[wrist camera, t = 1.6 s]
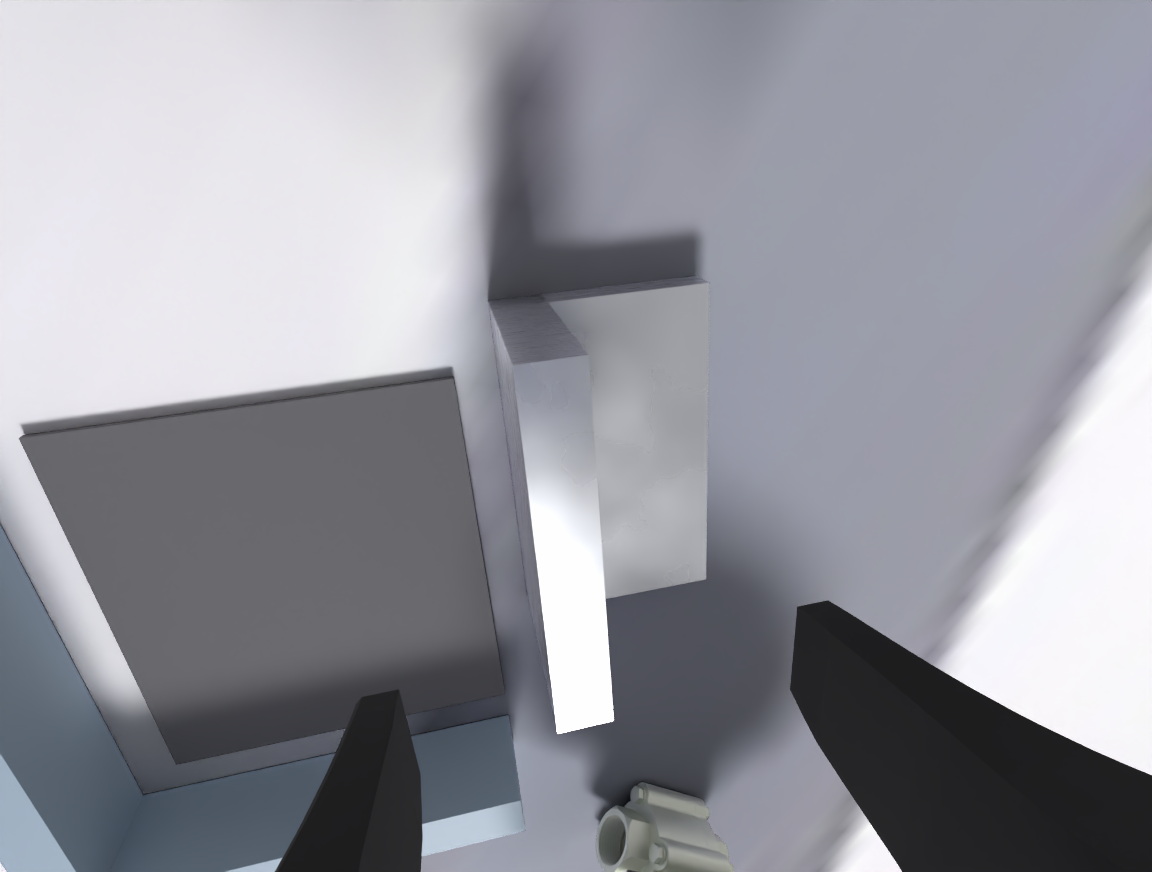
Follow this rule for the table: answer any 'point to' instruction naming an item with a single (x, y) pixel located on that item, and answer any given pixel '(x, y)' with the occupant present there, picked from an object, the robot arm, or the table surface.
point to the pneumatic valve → (660, 835)
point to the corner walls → (194, 812)
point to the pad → (282, 559)
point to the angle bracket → (603, 462)
